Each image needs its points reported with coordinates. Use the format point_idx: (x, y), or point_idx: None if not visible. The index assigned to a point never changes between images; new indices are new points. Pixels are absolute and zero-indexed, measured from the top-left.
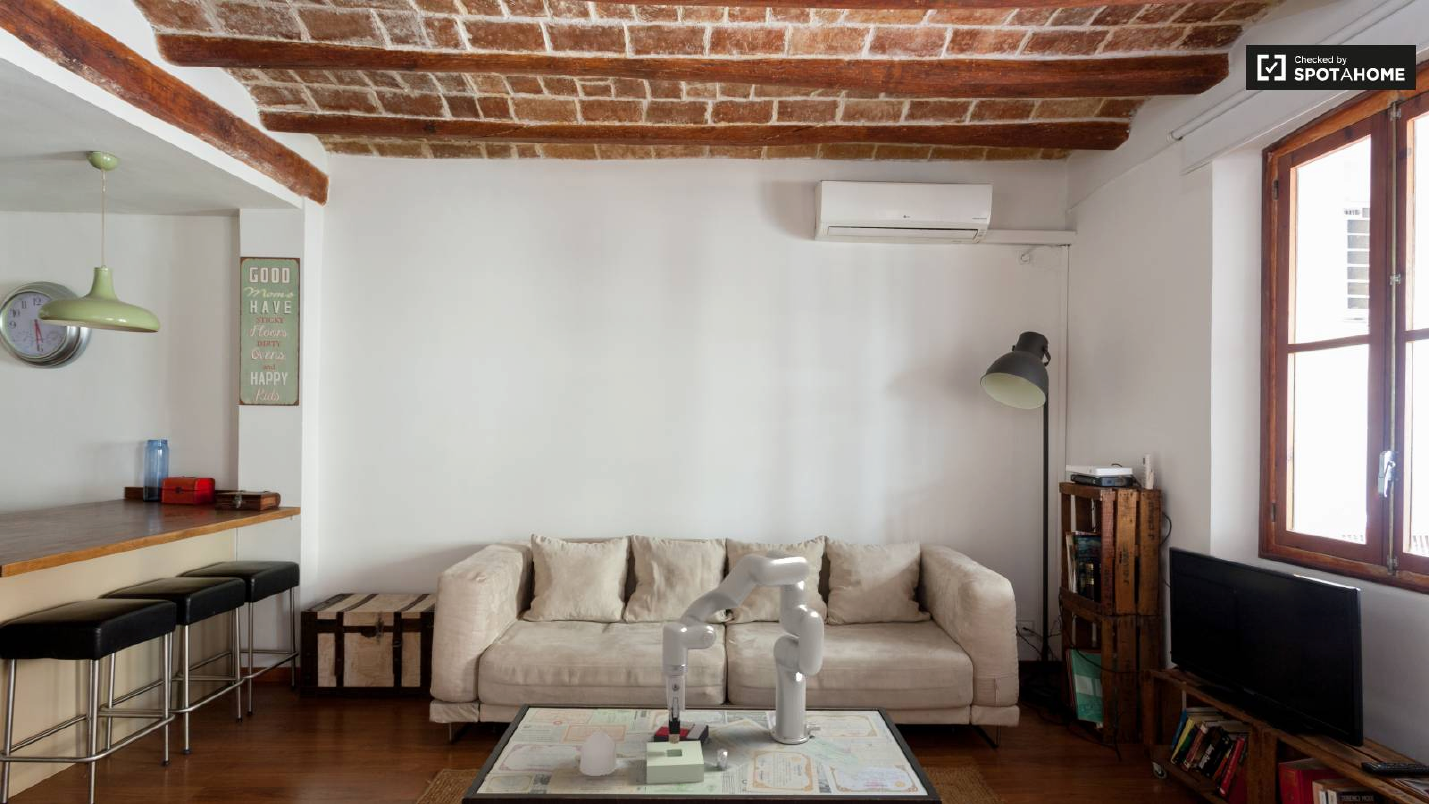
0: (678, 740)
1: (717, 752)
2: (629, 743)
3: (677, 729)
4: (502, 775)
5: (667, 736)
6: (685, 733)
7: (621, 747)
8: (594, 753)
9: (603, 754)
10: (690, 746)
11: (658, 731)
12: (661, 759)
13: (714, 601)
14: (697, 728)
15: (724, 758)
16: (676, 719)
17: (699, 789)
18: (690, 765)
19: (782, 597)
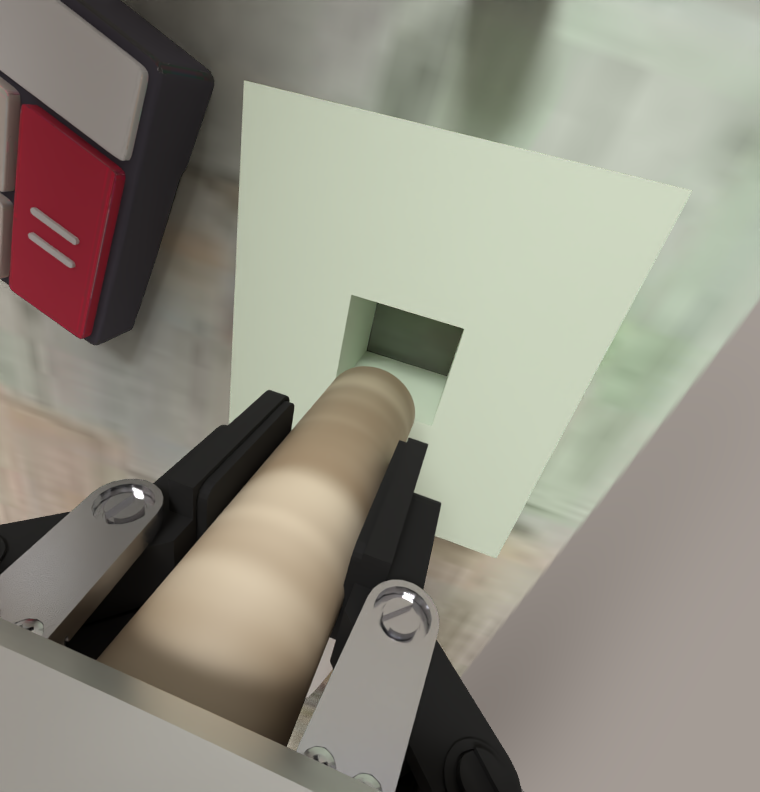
0: (398, 392)
1: None
2: (126, 425)
3: (437, 518)
4: (291, 744)
5: (103, 278)
6: (76, 154)
7: (159, 463)
8: (317, 686)
9: (323, 657)
10: (325, 208)
11: (57, 315)
12: (451, 466)
13: None
14: None
15: None
16: (459, 701)
17: (729, 251)
18: (625, 312)
19: None
